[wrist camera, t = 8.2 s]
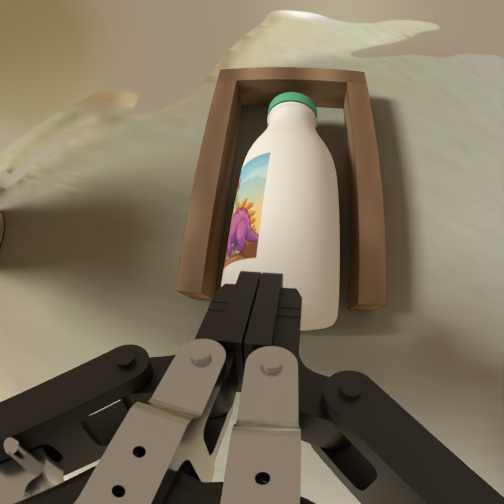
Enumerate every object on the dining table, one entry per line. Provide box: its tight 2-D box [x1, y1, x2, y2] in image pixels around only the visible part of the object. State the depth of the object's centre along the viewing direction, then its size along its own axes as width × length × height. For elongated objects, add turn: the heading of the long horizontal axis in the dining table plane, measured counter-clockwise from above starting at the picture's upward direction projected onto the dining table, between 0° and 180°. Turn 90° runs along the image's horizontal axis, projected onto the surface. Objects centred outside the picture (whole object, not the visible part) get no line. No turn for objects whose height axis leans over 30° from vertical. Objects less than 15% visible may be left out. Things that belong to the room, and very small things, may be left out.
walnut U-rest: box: [175, 67, 386, 311], centre depth 26 cm, size 15×23×4 cm, turn 174°
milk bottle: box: [221, 92, 340, 331], centre depth 23 cm, size 8×8×20 cm
